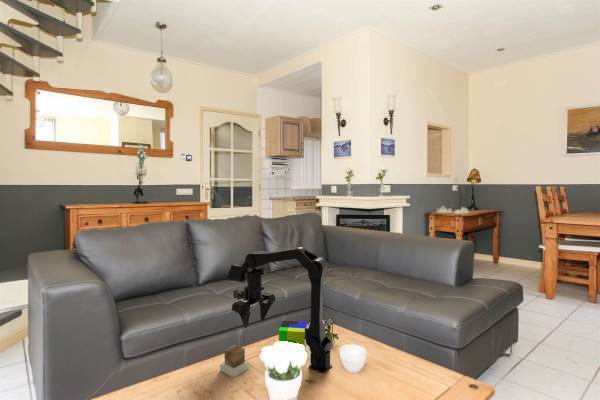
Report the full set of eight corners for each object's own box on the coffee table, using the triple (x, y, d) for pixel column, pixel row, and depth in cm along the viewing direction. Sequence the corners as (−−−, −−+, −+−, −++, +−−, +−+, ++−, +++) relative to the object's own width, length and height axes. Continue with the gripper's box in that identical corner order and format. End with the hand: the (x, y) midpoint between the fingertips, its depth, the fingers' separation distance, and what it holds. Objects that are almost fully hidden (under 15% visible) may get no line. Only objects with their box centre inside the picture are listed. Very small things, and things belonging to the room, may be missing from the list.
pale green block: (248, 369, 131) (248, 362, 131) (233, 377, 126) (233, 370, 126) (234, 362, 136) (234, 356, 135) (220, 370, 130) (220, 363, 130)
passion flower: (316, 352, 157) (314, 323, 163) (341, 349, 155) (338, 320, 162) (312, 347, 147) (309, 317, 154) (338, 344, 146) (335, 314, 152)
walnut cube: (244, 362, 131) (244, 348, 131) (234, 368, 127) (234, 354, 127) (234, 358, 134) (235, 344, 134) (224, 363, 130) (224, 349, 130)
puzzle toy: (306, 345, 151) (306, 322, 150) (303, 357, 141) (304, 332, 141) (282, 344, 152) (282, 320, 151) (278, 355, 142) (278, 330, 142)
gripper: (256, 275, 154) (255, 312, 154) (222, 285, 139) (221, 325, 140) (276, 280, 147) (275, 318, 148) (242, 291, 132) (242, 333, 133)
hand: (254, 323), depth 142 cm, fingers open, 9 cm apart
